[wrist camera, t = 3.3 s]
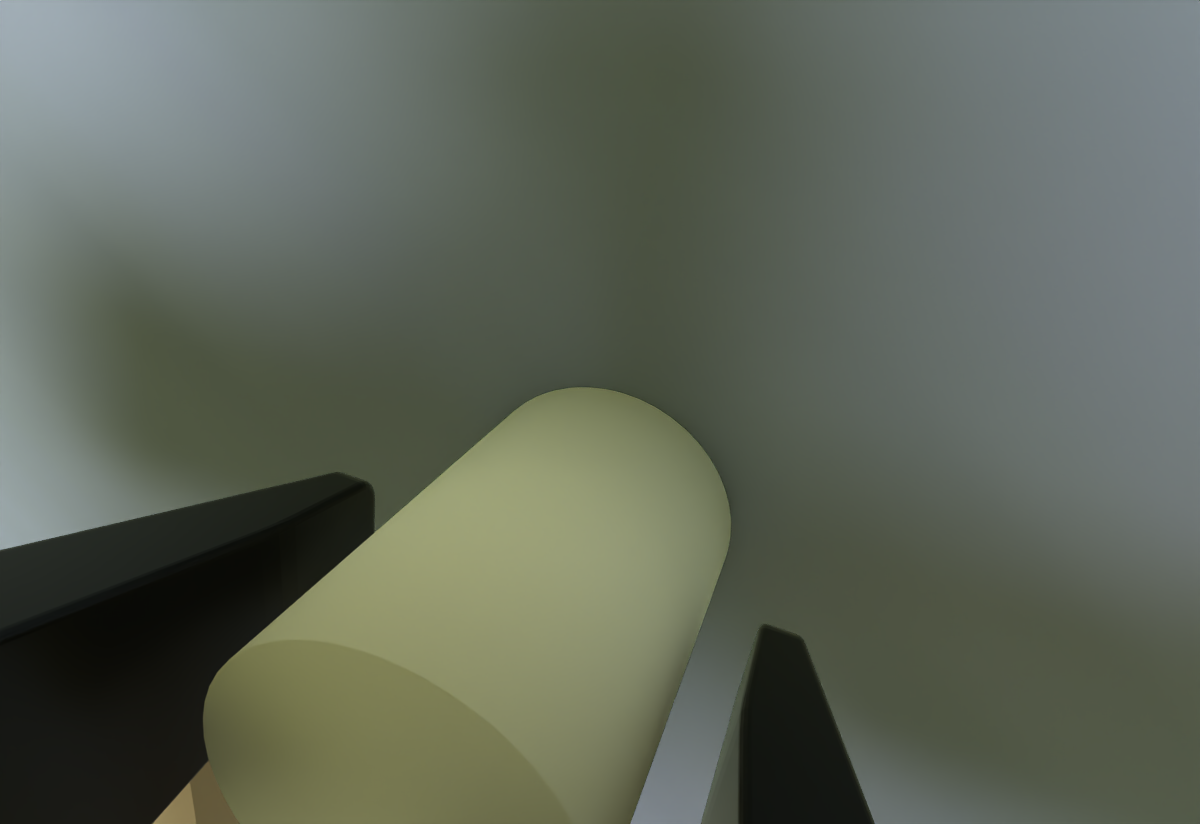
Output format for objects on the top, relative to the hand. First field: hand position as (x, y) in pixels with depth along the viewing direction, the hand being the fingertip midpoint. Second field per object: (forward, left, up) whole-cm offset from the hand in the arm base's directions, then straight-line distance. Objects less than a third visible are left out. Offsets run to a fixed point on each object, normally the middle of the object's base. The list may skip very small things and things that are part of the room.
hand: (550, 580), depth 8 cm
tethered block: (0, -8, -1) cm, 8 cm away
